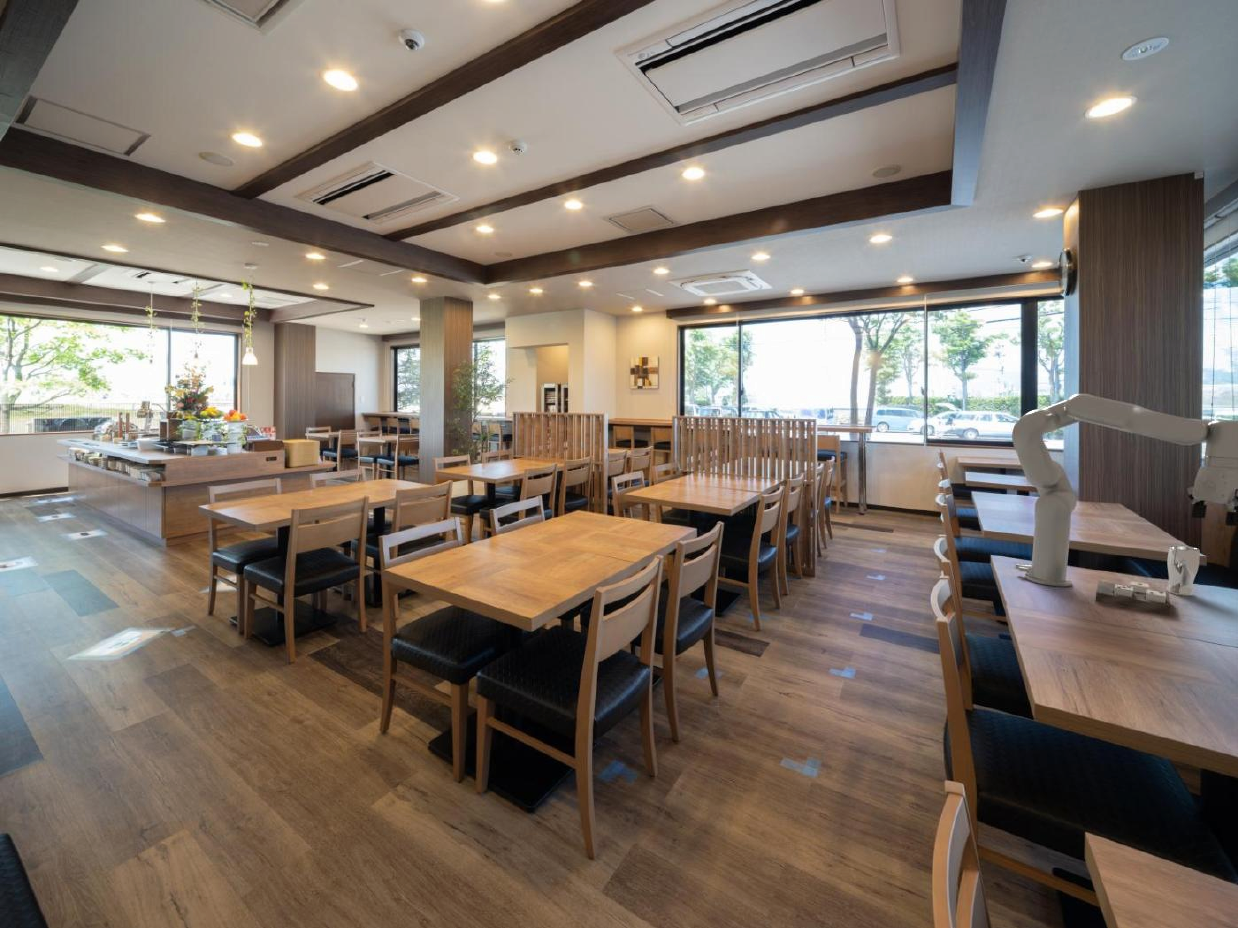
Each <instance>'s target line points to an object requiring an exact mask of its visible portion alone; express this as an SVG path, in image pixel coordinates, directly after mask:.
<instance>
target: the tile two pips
mask: <svg viewBox="0 0 1238 928" xmlns="http://www.w3.org/2000/svg"><path fill="white" fill-rule="evenodd" d="M1152 590H1153V589H1149V590H1147V592H1146V600H1150V601H1156V602H1162V603H1165V601H1166V593H1167V592H1165V593H1164V591H1160V592H1158V590H1154V591H1152Z"/></svg>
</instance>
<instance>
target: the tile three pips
mask: <svg viewBox="0 0 1238 928" xmlns="http://www.w3.org/2000/svg"><path fill="white" fill-rule="evenodd" d="M1114 584H1115V590H1114V594H1117V595H1123V596H1128V597H1132V594H1133V587H1129V585H1124V586H1123V584H1118V585H1117V583H1114Z"/></svg>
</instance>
